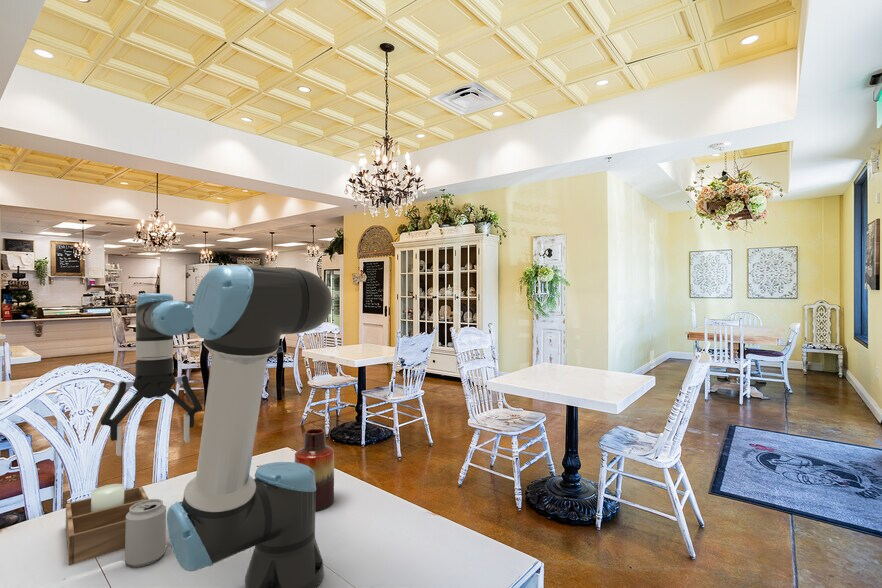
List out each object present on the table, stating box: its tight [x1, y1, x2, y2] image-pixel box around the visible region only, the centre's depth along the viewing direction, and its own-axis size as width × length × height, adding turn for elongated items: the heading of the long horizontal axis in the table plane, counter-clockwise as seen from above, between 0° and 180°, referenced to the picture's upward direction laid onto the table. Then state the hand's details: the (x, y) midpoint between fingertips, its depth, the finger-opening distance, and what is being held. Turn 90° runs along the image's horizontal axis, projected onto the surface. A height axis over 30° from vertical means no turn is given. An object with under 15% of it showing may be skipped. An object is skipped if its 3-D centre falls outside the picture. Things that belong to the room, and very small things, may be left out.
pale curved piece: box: [90, 483, 125, 512], centre depth 109 cm, size 7×7×9 cm
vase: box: [294, 428, 335, 513], centre depth 124 cm, size 11×11×20 cm
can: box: [124, 498, 167, 568], centre depth 97 cm, size 8×8×12 cm
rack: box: [65, 485, 149, 566], centre depth 106 cm, size 20×16×7 cm
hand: (153, 447), depth 104 cm, fingers open, 13 cm apart
